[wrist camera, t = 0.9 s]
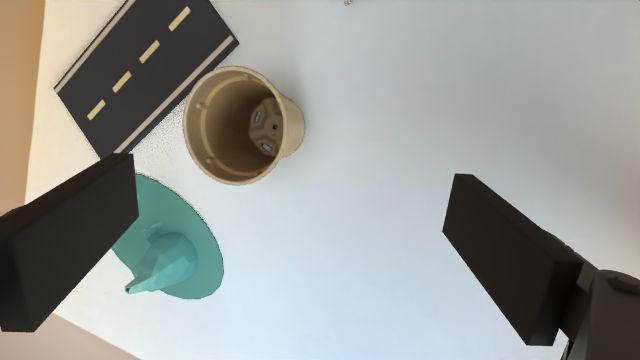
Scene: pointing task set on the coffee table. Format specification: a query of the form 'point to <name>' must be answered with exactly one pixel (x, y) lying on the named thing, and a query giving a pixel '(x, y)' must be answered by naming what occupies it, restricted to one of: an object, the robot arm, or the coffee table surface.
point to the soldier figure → (347, 2)
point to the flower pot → (239, 125)
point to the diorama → (169, 246)
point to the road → (142, 69)
